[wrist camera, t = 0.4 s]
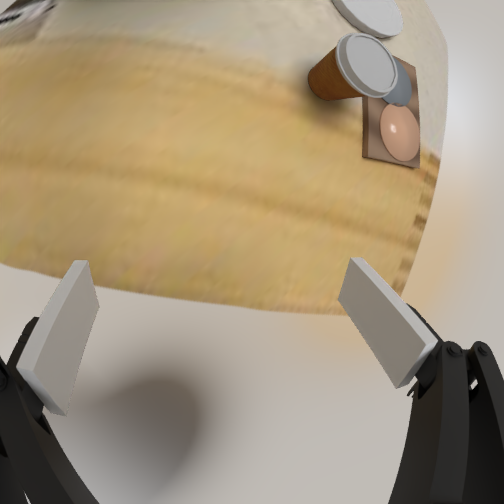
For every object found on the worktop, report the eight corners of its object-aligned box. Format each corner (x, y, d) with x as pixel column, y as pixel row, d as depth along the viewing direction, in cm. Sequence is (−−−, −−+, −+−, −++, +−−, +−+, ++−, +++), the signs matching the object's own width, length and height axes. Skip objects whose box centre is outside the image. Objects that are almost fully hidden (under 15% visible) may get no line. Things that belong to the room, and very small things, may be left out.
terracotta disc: (378, 95, 37) (380, 95, 36) (417, 112, 40) (419, 111, 40) (379, 156, 40) (380, 156, 39) (418, 165, 43) (419, 165, 43)
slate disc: (366, 45, 34) (367, 44, 33) (407, 65, 37) (409, 64, 36) (370, 97, 37) (371, 97, 36) (411, 113, 40) (413, 113, 39)
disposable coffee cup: (318, 118, 37) (368, 105, 26) (287, 66, 33) (328, 36, 22) (358, 99, 38) (409, 86, 27) (331, 51, 34) (376, 26, 23)
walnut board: (358, 44, 35) (363, 41, 33) (410, 68, 39) (415, 67, 37) (362, 156, 41) (368, 156, 39) (413, 168, 45) (419, 168, 43)
